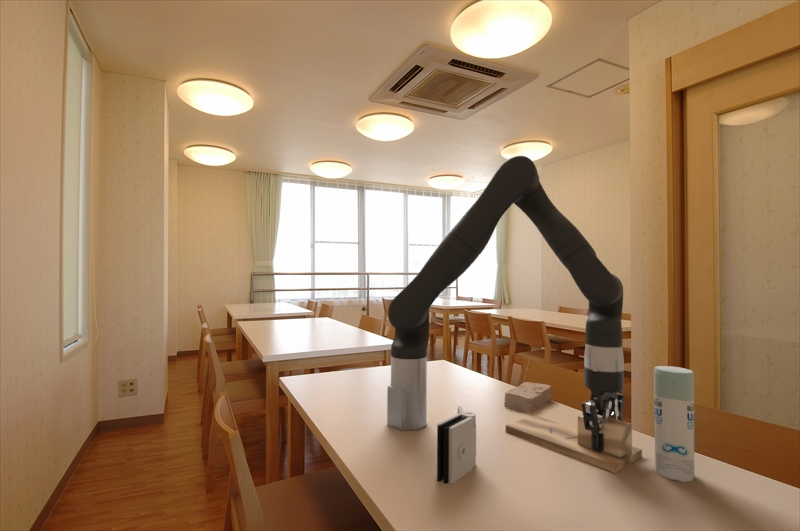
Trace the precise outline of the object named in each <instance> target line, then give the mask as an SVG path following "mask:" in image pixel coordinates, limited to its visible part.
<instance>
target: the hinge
mask: <svg viewBox="0 0 800 531" xmlns="http://www.w3.org/2000/svg"><path fill="white" fill-rule="evenodd" d="M476 421H477V417H476V413H475V412H472V411H464V410H463V406H462V405H457V414H455V415H453V416H451V417H449V418H447V419H445V420H442V421H441V422H438V423H437V425H436V429H437V430H436V436H437V437H436V440H437V441H436V442H437V443H436V445H437V446H436V454H437V455H436V460H437V461H436V481H438V482H442V481H443V484H445V485H446V484H448V483H449V484H451V485H453V484H454V483H456V482H457V481H459V479H461V478H462V477H464V476H465V475H467V474H469V472H471V471H472V470H473V468H474V467H475V466H476V459H477V458H476V457H477V422H476Z"/></svg>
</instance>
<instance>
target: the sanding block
mask: <svg viewBox="0 0 800 531" xmlns="http://www.w3.org/2000/svg"><path fill="white" fill-rule="evenodd" d="M597 416H598V417H600V418H602V417H603V416H600V415H597ZM589 424H590V421H589ZM598 424H600V421H598ZM577 429H578V444H580V445H582V446H585V447H588V448H591V449H592V439H591V431H590V430H586V429H585V426H584V418H583V413H582V414H580V415H577ZM603 434H604V450H603V451H602V453H605V454H607V455H610V456H613V457H616V458H618V459H622V458H624V457H626V456H627V455H629V454H631V453H632V446H633V423H631V422H628V421H625V420H622V421H621V420H617V419H612V418H610V417H608V422H607V423H605V424H604V431H603Z"/></svg>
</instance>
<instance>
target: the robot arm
mask: <svg viewBox="0 0 800 531" xmlns="http://www.w3.org/2000/svg"><path fill="white" fill-rule="evenodd" d="M512 205H515V206H516V207H518V208H519V209H520V210H521V211H522V212H523V213H524V214H525V216H527V218H528V219H529V220H530V221H531V222H532V224H534V226H535V228H536V229H537V231H539V233H540V234H541V235H542V238H543V239H544V240H545V242H546V243H547V245H548V246H549V247H550V249H551V250H552V252H553V253H554V254H555V256H556V257H557V259H558V260H559V262H561V264H562V265H563V266H564V267H565V268H566V269H567V270H568V272H569V273H570V276H571V278H572V279H573V281H574V283H575V284H576V286H577V287H578V289H579V291H580V292H581V294H582V295H583V297H585V299H586V300H587V301H588V316H587V319H586V322H585V345H584V346H585V347H584V348H585V349H584V354H583V356H584V359H583V361H584V362H583V363H584V364H583V365H584V367H583V368H584V370H583V372H584V373H583V374H584V386H585V387H586V388H587V389H588V390H589V391H590V396H589V400H588V402H585V401H582V403H581V411H582V414H583V418H584V426H585V429H586V430H590V431H591V439H592V449H593V450H596V451H599V452H602V451H603V450H604V434H603V431H604V424H605V423H607V422H608V417H610V418H612V419H617V420H621V421H623V415H624V414H623V413H624V405H625V404H624V403H625V394H623V393H622V392H623V391H624V389H625V383H624V382H625V376H624V375H625V363H624V362H625V360H624V358H625V357H624V350H623V327H622V326H623V325H622V315H623V305H624V285H623V283H622V281H621V279H620V278H619V277H618V276H616V275H615V274H613V273H611V271H609V269H608V268H607V267H606V266H605V265H604V264H603V262H602V261H601V260H600V259H599V258H598V257H597V253H596V251H595V249H594V248H593V246H592V245H591V244H590V243H589V241H588V240H587V239H586V238H585V237H584V235H583V233H581V231H580V230H579V229H578V228H577V227H576V226H575V225H574V223H572V222H571V221H570V220H569V219H568V218H567V217H566V216H565V215H564V214H563V213H562V212H561V211H560V210H559V209H558V208H557V207H556V206H555V205H554V203H553V202H552V201H551V199H550V198H549V196H548V194H547V193H546V190H544V187H543V185H542V184H541V182H540V176H539V173H538V170H537V167H536V165H535V163H534V162H533V160H532V159H531V158H529V156H528V157H527V156H525V155H516V156H513V157H510V158H508V159H507V160H505V161H504V162H503V163H502V164H501V165H500V166H499V167H498V169H497V170H496V171H495V173H494V175H493V176H492V177H491V179H490V180H489V182H488V184H487V185H486V186H485V188H484V190H483V191H482V193H481V194H480V195H479V197H478V198H477V199H476V201H475V202H474V203H473V204H472V205H471V206H470V208H469V209H468V210H467V211H466V212H465V213H464V215H463V216H462V217H461V218H460V219H459V221H458V222H457V223H456V224H455V225H454V226H453V227H452V228H451V230H449V232H448V233H447V234H446V236H445V237H444V239H443V240H441V242H440V243H439V244H438V246H437V247H436V249H435V250H434V251H433V252H432V254H431V256H430V257H429V258H428V260H427V261H426V262H425V263H424V265H423V266H422V268H421V269H420V271H419V272H418V273H417V275H416V276H415V277H414V278H413V279H412V280H411V281H410V282H409V283H408V284H407V285H406V286H405V287H404V288H403V289H402V290H401V291H400V292H399V293H398V294H397V295H396V296H395V297H394V298H393V299H392V300H391V302H390V303H389V305H388V310H387V318H388V321H389V324H390V325H391V326H392V327H393V328H394V336H393V337H394V338H393V340H392V343H391V347H390V385H388V386H387V393H386V394H387V396H386V397H387V398H386V399H387V400H386V401H387V403H386V405H387V408H386V409H387V410H386V412H387V413H386V415H387V416H386V418H387V420H386V421H387V422H386V424H387V425H389V426H392V427H393V428H396V429H398V430H400V431H408V430H410V431H411V430H413V431H414V430H419V429H422V428H424V427H426V425H427V404H428V403H427V402H428V401H427V394H428V393H427V387H428V386H427V385H428V384H427V380H428V376H427V375H428V374H427V373H428V371H427V370H428V368H427V366H428V362H427V361H428V356H427V355H428V347H429V340H430V307H431V306H432V305H433V303H434V302H435V301H436V300H437V298H438V297H439V296H440V295H441V293H442V292H443V291H445V289H447V288H448V287H449V286H450V285H451V284H453V283H454V282H455V281H456V280H457V279H458V278H459V277H461V276H462V275H463V274H464V273H465V272H466V271H467V270H468V269H469V267H471V265H473V264H474V262H475V261H476V260H477V259H478V258H479V256H480V255H481V254H482V252H484V250H485V248H486V247H487V245H488V243H489V241H490V240H491V238H492V236H493V235H494V231H495V230H496V227H497V225H498V224H499V221H500V220H501V218H502V217H503V216H504V214H505V213H506V211H508V209H510V207H511V206H512ZM597 415H600V416H603V417H602V418H600V417H598V416H597ZM589 421H590V424H589ZM598 421H600V424H598Z"/></svg>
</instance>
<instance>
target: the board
mask: <svg viewBox="0 0 800 531" xmlns="http://www.w3.org/2000/svg"><path fill="white" fill-rule="evenodd" d="M505 432H506V433H508V434H511V435H513V436H517V437H519V438H522V439H525V440H527V441H530V442H532V443H535V444H538V445H541V446H543V447H545V448H548V449H551V450H553V451H557V452H558V453H561V454H563V455H566V456H568V457H569V456H570V457H572V458H574V459H577V460H580V461H582V462H586V463H588V464H589V465H593V466H595V467H598V468H601V469H603V470H606V471H609V472H611V473H614V474H616V473H617V472H619V471H620V470H622V469H625V467H627V466H629V465H630V464H632V463H634V462H635V461H637V460H639V459H640V458H642V457H643V449H642V448H638V447H635V446H633V445H632V453H631V454H629V455H627V456H626V457H624V458H622V459H618V458H616V457H613V456H610V455H607V454H605V453H602V452H599V451H596V450H593V449H591V448H588V447H585V446H582V445H580V444H578V428H576V427H573V426H569V425H566V424H563V423H560V422H557V421H554V420H550V419H548V418H546V417H545V418H544V417H542V416H539V415H532V416H531V415H530V416H528V417H526V418H522V419H519V420H516V421H514V422H511V423H507V424H505Z"/></svg>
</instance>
